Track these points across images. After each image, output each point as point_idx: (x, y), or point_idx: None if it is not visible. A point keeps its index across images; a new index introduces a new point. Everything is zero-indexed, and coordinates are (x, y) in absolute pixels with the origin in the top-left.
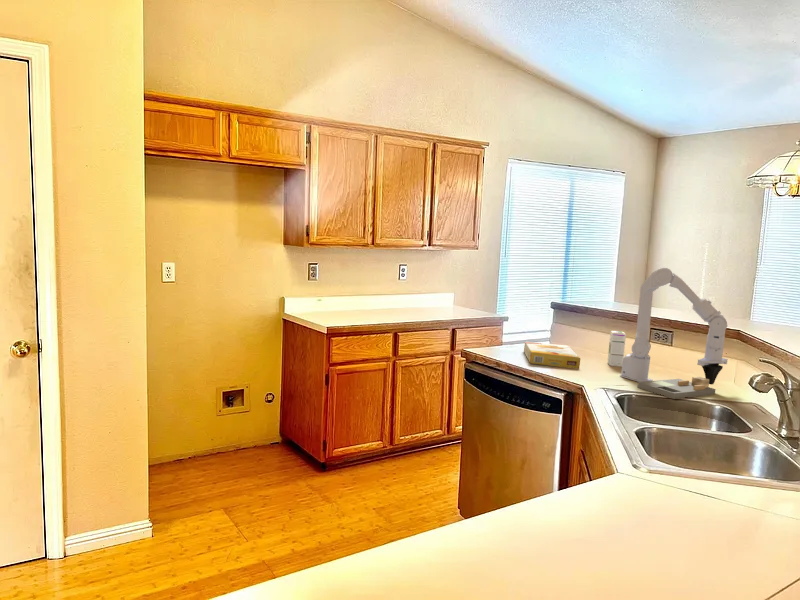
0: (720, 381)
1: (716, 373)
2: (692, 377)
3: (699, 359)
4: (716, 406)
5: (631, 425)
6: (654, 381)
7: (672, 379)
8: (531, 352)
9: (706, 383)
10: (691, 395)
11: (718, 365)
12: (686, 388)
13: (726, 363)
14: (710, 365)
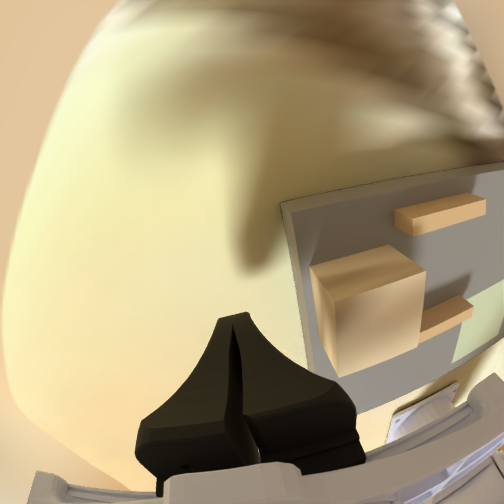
0: (43, 424)
1: (224, 374)
2: (416, 344)
3: (485, 458)
4: (459, 13)
5: None
6: (481, 347)
7: (372, 407)
8: (499, 450)
9: (352, 273)
10: (480, 167)
11: (180, 472)
12: (477, 234)
13: (41, 477)
14: (346, 448)
